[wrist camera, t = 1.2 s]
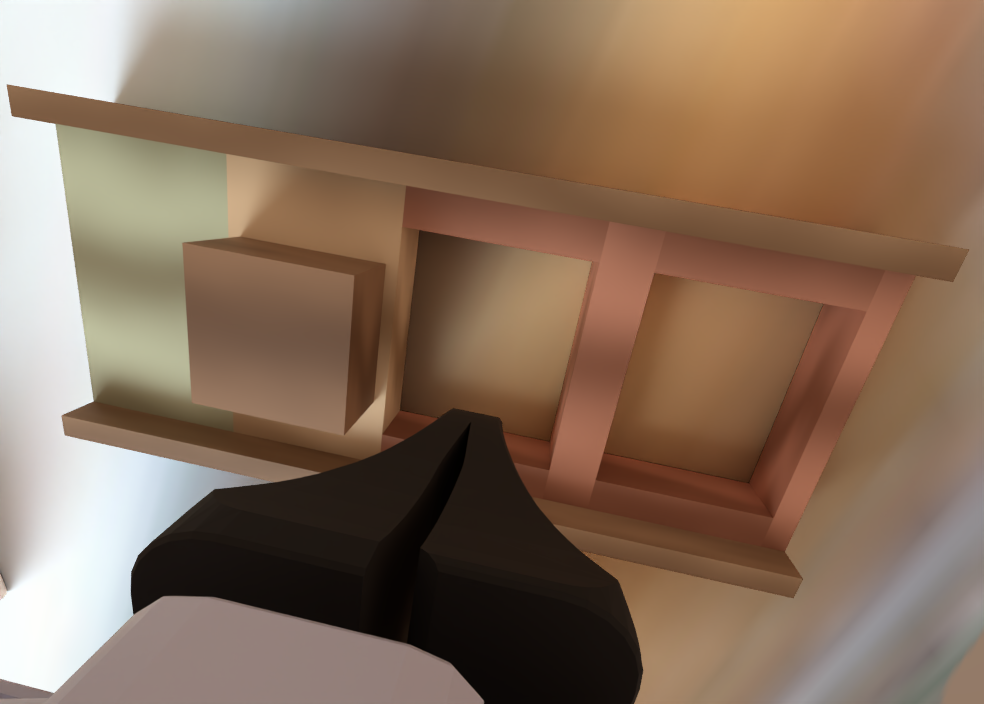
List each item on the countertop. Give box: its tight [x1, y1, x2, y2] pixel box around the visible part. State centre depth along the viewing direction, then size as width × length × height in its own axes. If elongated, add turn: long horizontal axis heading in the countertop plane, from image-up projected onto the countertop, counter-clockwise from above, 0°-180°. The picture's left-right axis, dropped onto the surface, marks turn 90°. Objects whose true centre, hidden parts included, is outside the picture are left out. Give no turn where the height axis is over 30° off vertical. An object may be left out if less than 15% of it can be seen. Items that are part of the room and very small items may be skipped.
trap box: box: [7, 85, 969, 598], centre depth 19 cm, size 14×32×4 cm, turn 81°
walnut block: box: [182, 237, 386, 436], centre depth 17 cm, size 6×6×3 cm
